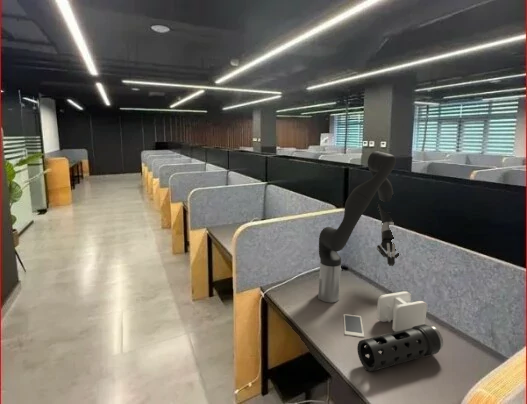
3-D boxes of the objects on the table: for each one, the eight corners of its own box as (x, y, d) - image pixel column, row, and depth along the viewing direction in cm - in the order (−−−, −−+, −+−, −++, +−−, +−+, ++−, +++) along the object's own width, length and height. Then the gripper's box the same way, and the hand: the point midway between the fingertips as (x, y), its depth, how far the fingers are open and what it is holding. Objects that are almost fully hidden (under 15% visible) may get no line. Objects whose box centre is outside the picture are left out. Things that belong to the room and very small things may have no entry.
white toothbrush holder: (392, 336, 116) (395, 307, 114) (374, 320, 126) (377, 294, 124) (424, 329, 120) (428, 302, 118) (405, 315, 130) (408, 289, 128)
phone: (344, 336, 116) (344, 333, 116) (343, 316, 130) (343, 313, 130) (363, 339, 115) (364, 336, 115) (360, 318, 128) (361, 315, 128)
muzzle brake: (355, 361, 103) (357, 333, 101) (420, 343, 112) (423, 317, 110) (374, 381, 94) (377, 351, 92) (443, 361, 103) (447, 333, 101)
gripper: (376, 228, 153) (377, 260, 144) (405, 230, 150) (408, 263, 141) (374, 235, 159) (375, 267, 150) (402, 237, 156) (404, 269, 147)
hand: (391, 265), depth 146 cm, fingers closed
